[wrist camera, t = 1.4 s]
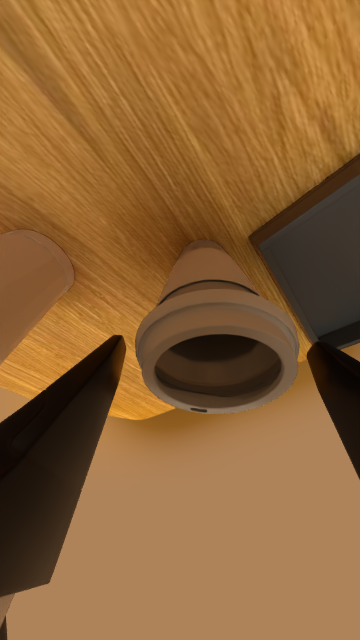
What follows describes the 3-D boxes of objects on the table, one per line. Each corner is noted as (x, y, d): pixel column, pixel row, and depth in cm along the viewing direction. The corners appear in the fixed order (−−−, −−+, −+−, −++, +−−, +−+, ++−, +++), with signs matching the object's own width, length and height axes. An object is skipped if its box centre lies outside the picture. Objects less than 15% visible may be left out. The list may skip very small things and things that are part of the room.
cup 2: (159, 289, 18) (125, 406, 9) (170, 216, 14) (128, 289, 5) (226, 303, 19) (260, 426, 9) (255, 236, 15) (367, 338, 5)
